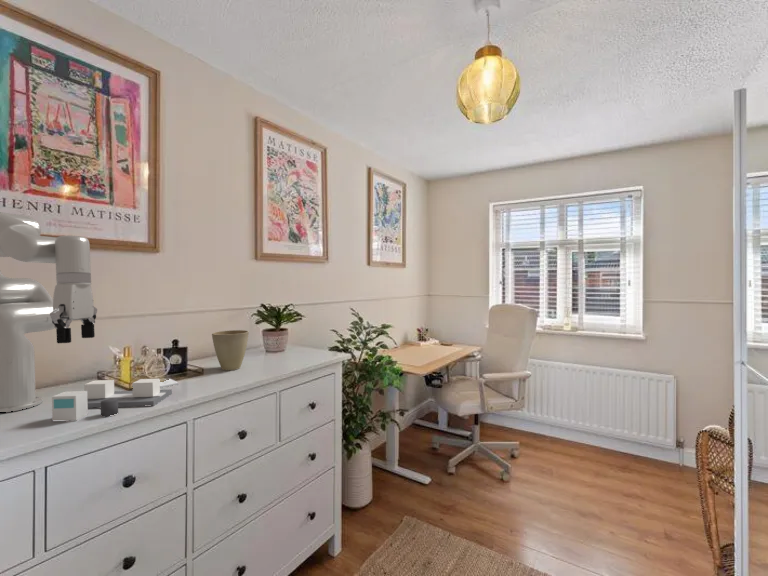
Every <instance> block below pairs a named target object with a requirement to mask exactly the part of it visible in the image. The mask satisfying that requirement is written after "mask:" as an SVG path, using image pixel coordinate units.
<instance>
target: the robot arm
mask: <svg viewBox="0 0 768 576" xmlns="http://www.w3.org/2000/svg"><path fill="white" fill-rule="evenodd" d="M41 233H42V227H41V225H40V223H39V222H38V221H37V220H36V219H35V218H33V217H32V216H29V215H24V214H16V213H10V212H0V258H8V257H9V258H12V259H15V260H17V261H19V262H25V263H40V264H41V263H42V264H55V276H56V277H55V278H56V279H55V281H56V282H55V283H56V284H55V286H54V291H53V297H52V296H51V294H50V293H49V291H48V290H47V289H46V287H45V286H44V285H43V284H42V283H41V282H39V281H38V280H36V279H32V278H24V277H23V278H22V277H21V278H20V277H19V278H18V277H15V278H14V277H7V276H6V275H4V274H3V273H2V271H1V270H0V412H6V413H12V412H11V411H13V412H18V411H22V409H23V410H26V408H27V409H30V408H33V406H34V407H35V406H38V405H40V404H42V403H43V398H42V397H41V396H37V395H36V360H35V358H36V357H35V347H34V344H33V342H32V341H31V340H30V339H29V338H28V337H27V336H26V335H25V334H29V333H38V332H39V333H40V332H45V331H51V330H55V329H56V331H55V332H56V333H55V334H56V343H57V344H70V343H72V328H71V327H70V325H71V323H72V321H78V320H80V322H81V323H82V324H81V325H80V329H81V332H80V333H81V334H80V335H81V338H82V339H90V338H91V339H92V338H95V336H96V334H95V324H96V319H97V313H98V308H97V307H95V303H94V295H93V290H92V272H91V271H92V270H91V249H90V247H91V245H90V241H89V239H88V238H87V237H85V236H80V235H59V236H57V237H54V236H47V235H45V236H43V235H41ZM41 402H42V403H41Z"/></svg>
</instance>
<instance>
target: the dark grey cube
mask: <svg viewBox="0 0 768 576" xmlns="http://www.w3.org/2000/svg"><path fill="white" fill-rule="evenodd" d="M117 413H118V414H119V407H118V399H107V400H103V401H101V408H100V416H101V415H102V416H110V415H114V414H117ZM118 414H117V415H118ZM114 416H115V415H114ZM110 417H111V416H110Z"/></svg>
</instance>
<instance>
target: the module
mask: <svg viewBox="0 0 768 576" xmlns="http://www.w3.org/2000/svg"><path fill="white" fill-rule="evenodd" d="M51 405H52V406H51V408H52V409H51V411H52V412H51V413H52V415H51V417H52V420H77V419H79V418H81V417H83V416H85V415H87V414H89V413H88V411H89V408H88V402H87V391H84V390H77V391H76V390H73V391H69V390H68V391H63V392H62V391H61V392H60V393H58V394H55V395H52V396H51ZM87 416H88V415H87ZM85 417H86V416H85ZM83 418H84V417H83ZM81 419H82V418H81ZM79 420H80V419H79ZM77 421H78V420H77Z"/></svg>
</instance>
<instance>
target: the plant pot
mask: <svg viewBox="0 0 768 576" xmlns="http://www.w3.org/2000/svg"><path fill="white" fill-rule="evenodd" d="M249 332H250V331H249V330H244V329H236V330H235V329H231V330H222V331H220V330H219V331H215V332H212V333H211V336H212V343H213V348H214V352H215V355H216V358H217V361H218V363H219V365H220V368H221V370H222V371H234V370H239V369H241V367H242V363H243V361H244V357H245V354H246V351H247V346H248V342H249V341H248V340H249Z"/></svg>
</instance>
